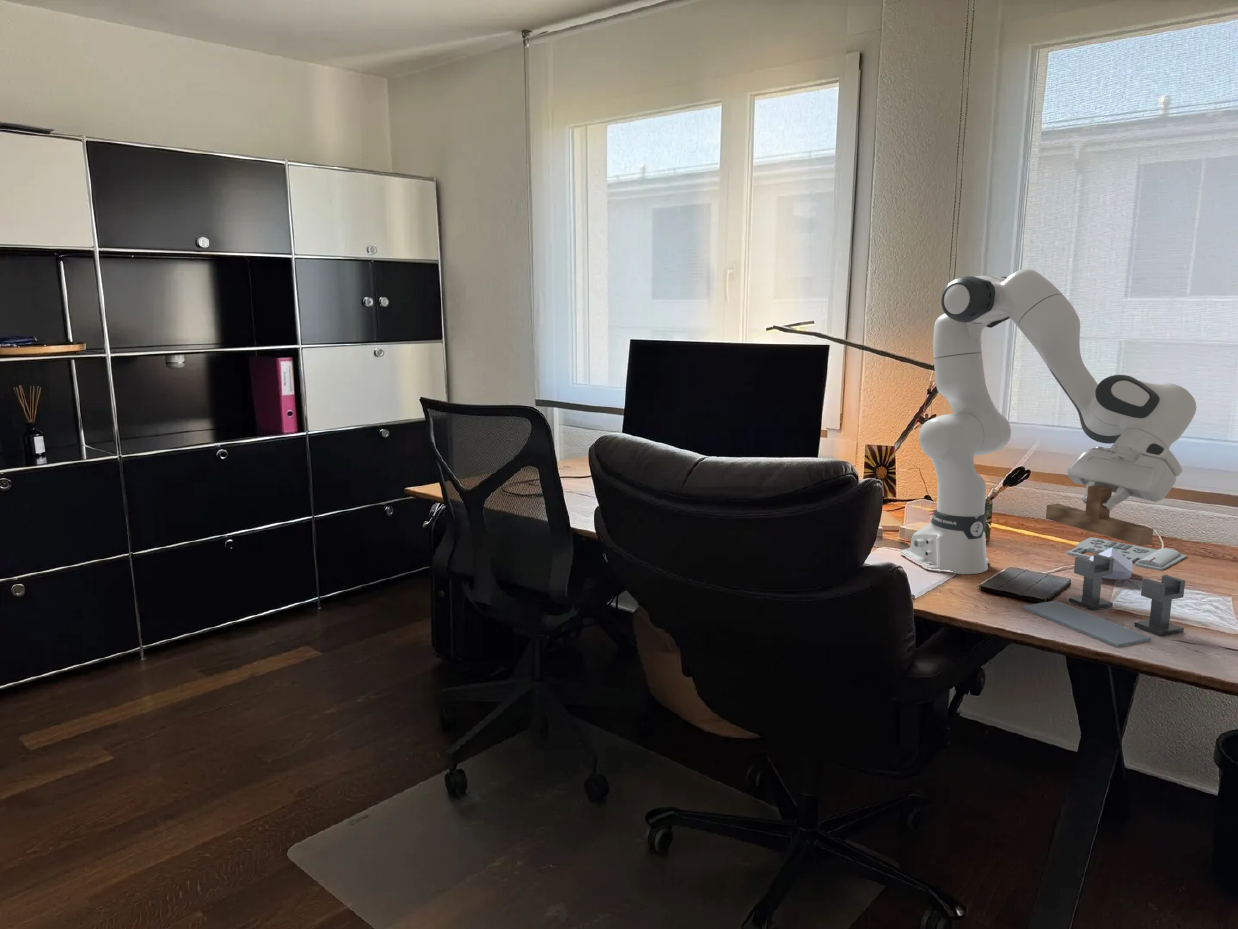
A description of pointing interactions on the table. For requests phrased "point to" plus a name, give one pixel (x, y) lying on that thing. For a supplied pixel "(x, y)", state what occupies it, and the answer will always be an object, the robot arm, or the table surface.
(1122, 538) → the walnut rail
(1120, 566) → the white wedge
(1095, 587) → the hook posts
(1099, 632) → the slate mat
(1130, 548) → the office telephone
